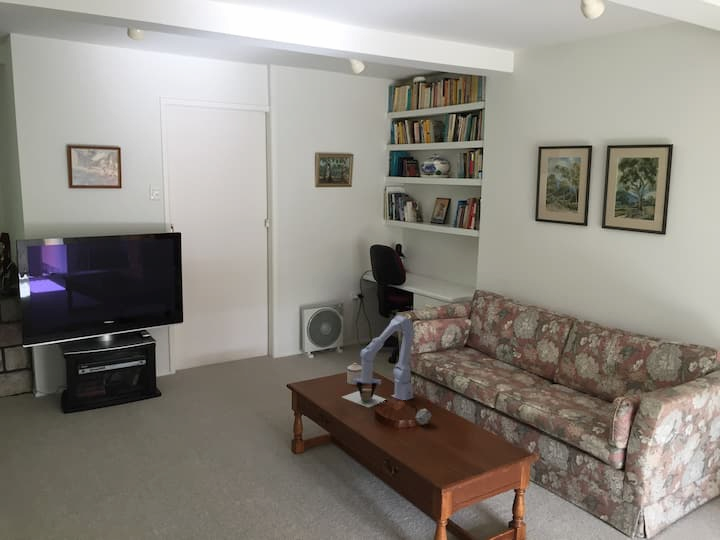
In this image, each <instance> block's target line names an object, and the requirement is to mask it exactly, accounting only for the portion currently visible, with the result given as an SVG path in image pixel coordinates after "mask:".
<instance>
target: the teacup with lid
mask: <svg viewBox="0 0 720 540" xmlns="http://www.w3.org/2000/svg"><path fill="white" fill-rule="evenodd" d="M346 371H347V373H346V374H347V375H346V377H347V379H346V382H347V384H350V385H353V386H354V385H355V386H357V383H353V379H357V378H361V374H362V365H359V364H358V363H357V362H353V364H350V365H348V366H347V368H346Z"/></svg>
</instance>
